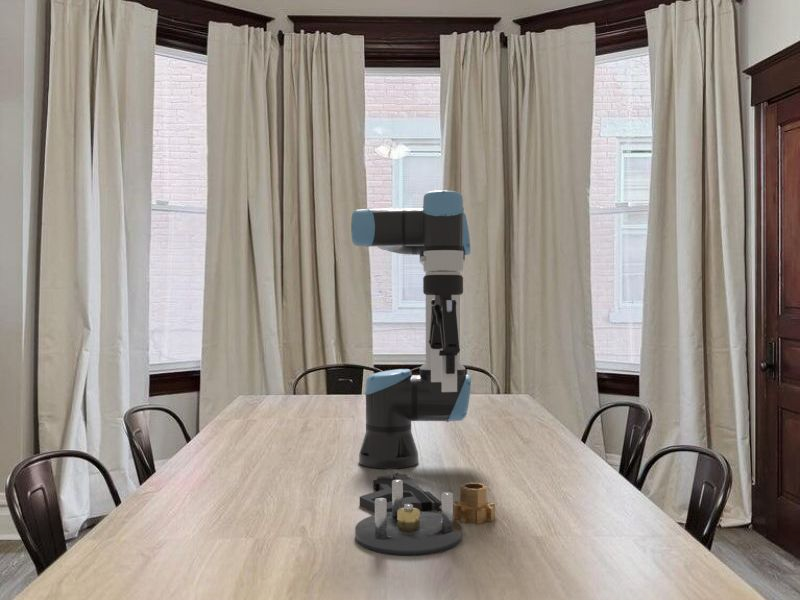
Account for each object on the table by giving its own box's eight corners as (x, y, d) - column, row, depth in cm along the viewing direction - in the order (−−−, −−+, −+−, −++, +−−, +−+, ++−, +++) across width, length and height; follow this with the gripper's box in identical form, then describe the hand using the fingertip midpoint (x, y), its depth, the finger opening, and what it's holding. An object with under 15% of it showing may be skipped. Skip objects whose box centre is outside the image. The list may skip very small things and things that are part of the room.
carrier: (371, 515, 138) (371, 474, 138) (468, 522, 133) (468, 480, 133) (341, 550, 119) (340, 503, 119) (452, 560, 115) (452, 511, 115)
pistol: (369, 510, 135) (443, 503, 139) (344, 476, 160) (407, 471, 164) (369, 521, 135) (443, 514, 139) (344, 486, 160) (407, 480, 164)
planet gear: (457, 509, 141) (457, 479, 141) (496, 512, 139) (496, 482, 139) (450, 522, 134) (450, 490, 134) (492, 525, 132) (492, 493, 132)
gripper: (415, 275, 145) (415, 378, 146) (432, 272, 120) (433, 396, 121) (451, 275, 146) (451, 378, 146) (476, 272, 121) (476, 396, 121)
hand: (443, 386), depth 134 cm, fingers open, 13 cm apart
